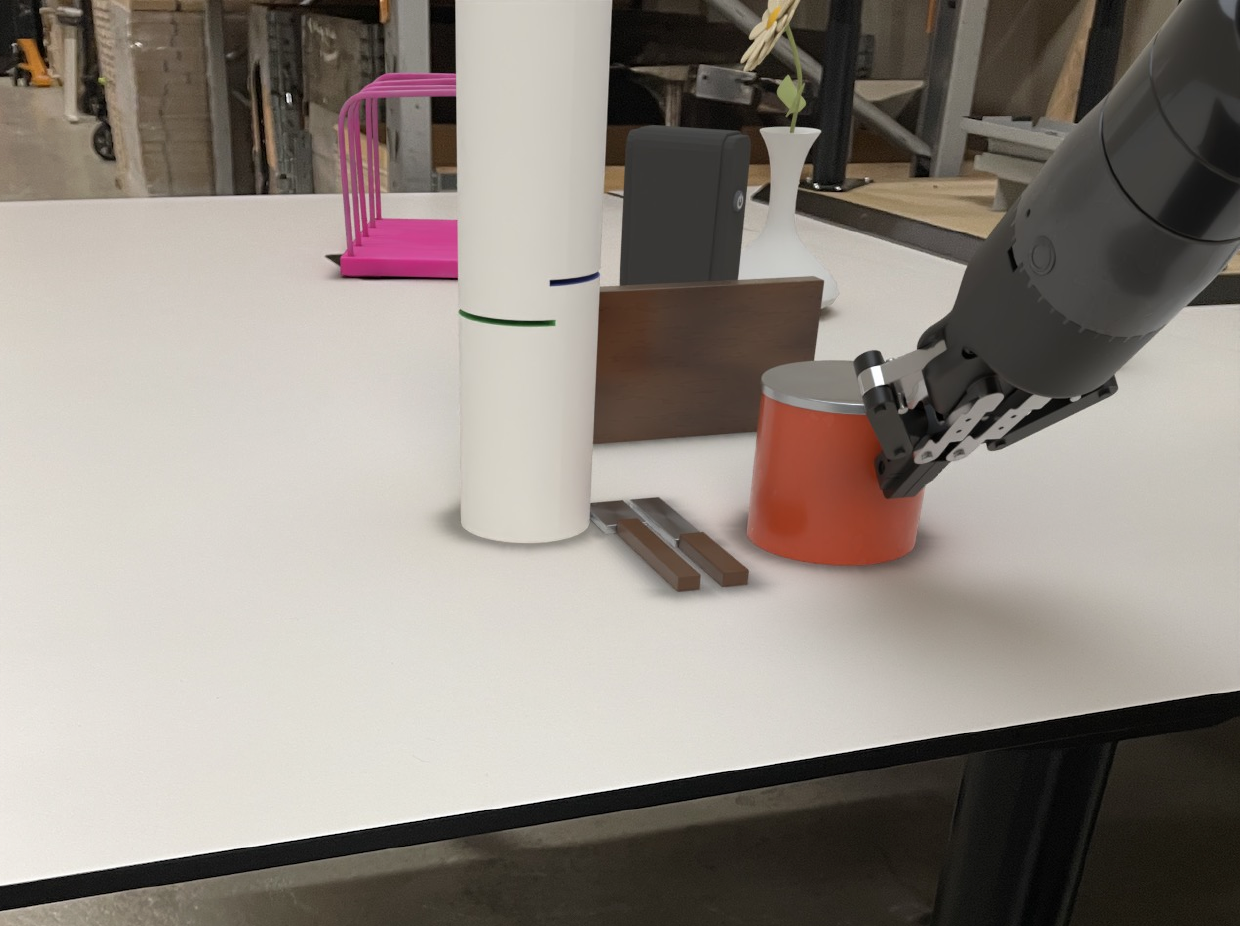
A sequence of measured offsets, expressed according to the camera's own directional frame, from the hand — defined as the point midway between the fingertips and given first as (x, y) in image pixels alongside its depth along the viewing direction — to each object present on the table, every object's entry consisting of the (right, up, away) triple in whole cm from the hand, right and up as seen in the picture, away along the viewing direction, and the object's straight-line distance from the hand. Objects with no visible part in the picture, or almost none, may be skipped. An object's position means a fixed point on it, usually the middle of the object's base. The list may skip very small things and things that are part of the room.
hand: (892, 481), depth 70 cm
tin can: (-2, -1, +7) cm, 7 cm away
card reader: (-5, +26, +43) cm, 51 cm away
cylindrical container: (-18, +1, +8) cm, 20 cm away
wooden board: (-7, +11, +23) cm, 26 cm away
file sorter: (-26, +50, +75) cm, 94 cm away
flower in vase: (+4, +34, +54) cm, 64 cm away
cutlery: (-11, -2, +5) cm, 12 cm away
